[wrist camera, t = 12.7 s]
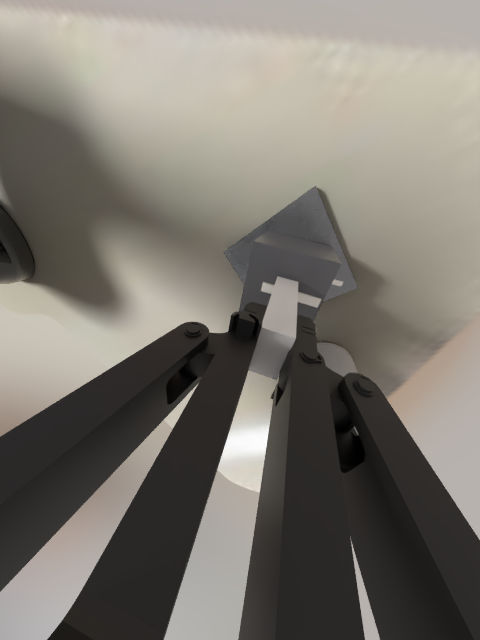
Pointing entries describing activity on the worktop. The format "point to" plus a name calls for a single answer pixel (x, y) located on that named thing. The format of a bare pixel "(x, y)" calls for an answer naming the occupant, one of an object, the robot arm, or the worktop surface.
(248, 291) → the dark grey cube
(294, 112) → the worktop surface
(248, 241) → the base plate
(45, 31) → the worktop surface
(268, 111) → the worktop surface
